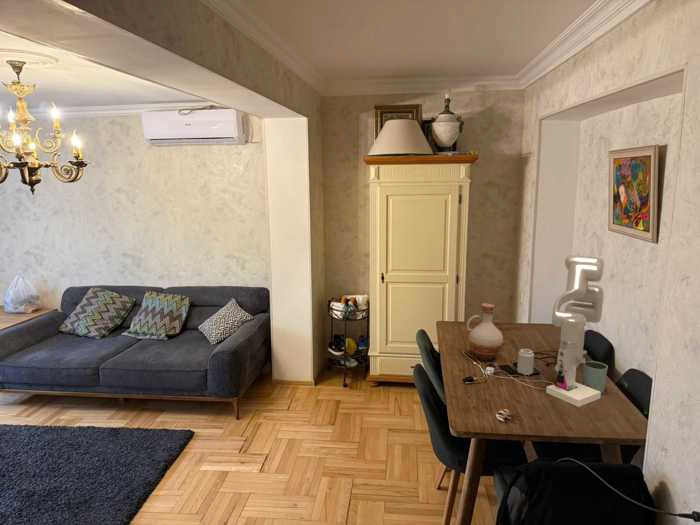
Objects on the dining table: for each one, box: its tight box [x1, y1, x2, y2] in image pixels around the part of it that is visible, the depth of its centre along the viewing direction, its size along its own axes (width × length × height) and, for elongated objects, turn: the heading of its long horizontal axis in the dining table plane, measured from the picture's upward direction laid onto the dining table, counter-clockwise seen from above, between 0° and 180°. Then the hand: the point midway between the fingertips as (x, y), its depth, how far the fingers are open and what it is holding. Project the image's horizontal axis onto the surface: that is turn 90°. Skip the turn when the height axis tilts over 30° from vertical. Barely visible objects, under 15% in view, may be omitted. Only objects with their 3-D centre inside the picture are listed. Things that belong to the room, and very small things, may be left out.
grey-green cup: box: [582, 360, 609, 394], centre depth 221 cm, size 10×10×12 cm
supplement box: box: [556, 366, 577, 391], centre depth 218 cm, size 6×6×12 cm
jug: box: [466, 302, 504, 361], centre depth 259 cm, size 20×18×30 cm
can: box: [516, 348, 535, 376], centre depth 239 cm, size 8×8×12 cm
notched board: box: [545, 381, 602, 408], centre depth 215 cm, size 16×16×3 cm
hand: (566, 380), depth 218 cm, fingers closed on supplement box, 7 cm apart
